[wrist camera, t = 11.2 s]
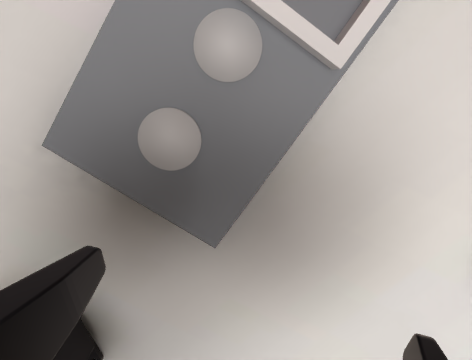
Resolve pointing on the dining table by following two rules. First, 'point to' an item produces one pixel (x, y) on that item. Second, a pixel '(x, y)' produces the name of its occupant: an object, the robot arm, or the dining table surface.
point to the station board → (205, 98)
